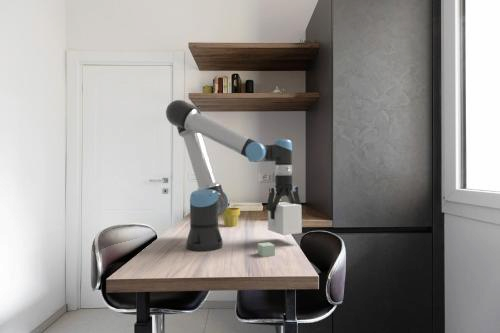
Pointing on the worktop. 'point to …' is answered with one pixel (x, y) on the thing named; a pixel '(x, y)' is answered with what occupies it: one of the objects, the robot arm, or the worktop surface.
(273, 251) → the block
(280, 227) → the white upright box
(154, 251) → the worktop surface
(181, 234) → the worktop surface
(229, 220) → the plant pot
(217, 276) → the worktop surface
